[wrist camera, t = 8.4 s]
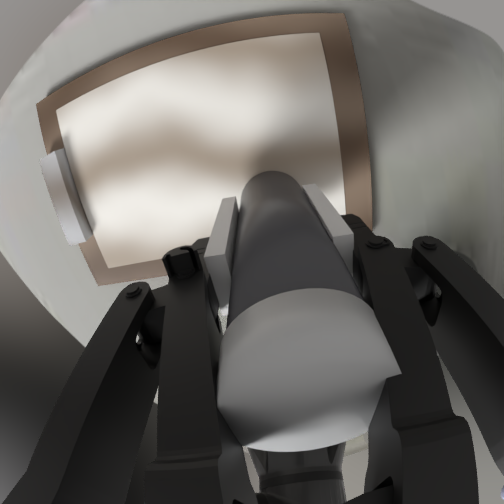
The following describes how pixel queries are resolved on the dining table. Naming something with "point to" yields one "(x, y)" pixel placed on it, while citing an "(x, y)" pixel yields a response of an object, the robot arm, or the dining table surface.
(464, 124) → the dining table surface
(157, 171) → the clipboard
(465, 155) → the dining table surface
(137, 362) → the robot arm
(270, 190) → the marker
